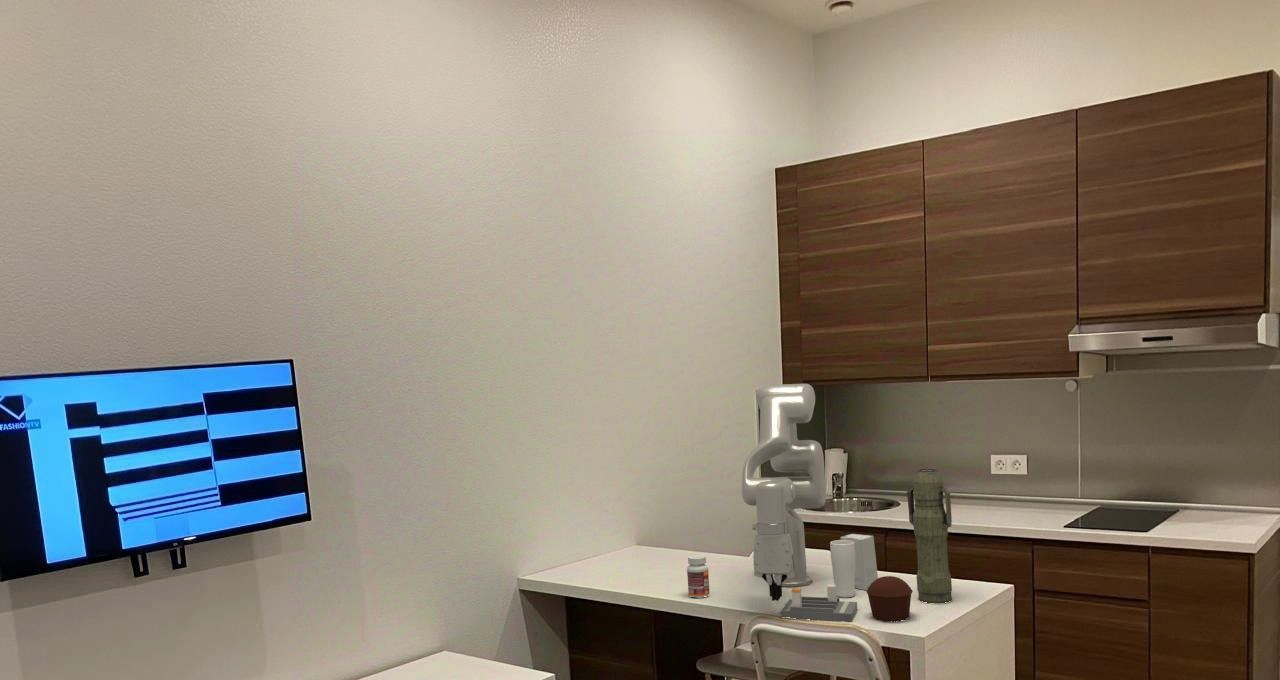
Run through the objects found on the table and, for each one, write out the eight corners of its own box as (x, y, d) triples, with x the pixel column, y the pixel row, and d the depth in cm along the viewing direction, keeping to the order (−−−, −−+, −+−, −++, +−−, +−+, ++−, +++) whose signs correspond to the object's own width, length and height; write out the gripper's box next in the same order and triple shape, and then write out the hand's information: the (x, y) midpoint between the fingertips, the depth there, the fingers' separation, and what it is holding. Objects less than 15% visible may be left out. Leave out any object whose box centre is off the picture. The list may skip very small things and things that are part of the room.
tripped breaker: (794, 607, 239) (793, 587, 239) (802, 607, 238) (801, 587, 239) (792, 609, 237) (791, 590, 237) (800, 609, 236) (799, 590, 236)
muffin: (895, 626, 225) (892, 585, 225) (858, 618, 234) (856, 578, 234) (923, 616, 232) (920, 576, 233) (886, 609, 241) (884, 570, 241)
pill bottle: (709, 598, 262) (707, 558, 262) (687, 599, 262) (685, 559, 263) (709, 593, 268) (707, 554, 268) (688, 593, 268) (686, 555, 269)
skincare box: (879, 587, 264) (876, 535, 265) (865, 591, 261) (862, 538, 261) (856, 582, 271) (853, 532, 272) (842, 586, 267) (839, 535, 268)
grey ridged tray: (789, 606, 248) (788, 582, 248) (857, 609, 242) (855, 584, 242) (780, 618, 237) (779, 592, 237) (851, 621, 230) (850, 595, 231)
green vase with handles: (919, 593, 254) (911, 467, 256) (962, 598, 247) (954, 468, 248) (907, 601, 248) (899, 471, 249) (950, 606, 240) (942, 472, 242)
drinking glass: (840, 591, 261) (836, 539, 262) (861, 594, 257) (858, 540, 258) (828, 597, 256) (825, 543, 257) (850, 600, 252) (847, 545, 252)
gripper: (741, 531, 239) (744, 602, 239) (797, 531, 234) (802, 604, 233) (747, 526, 246) (751, 595, 246) (803, 526, 241) (807, 597, 240)
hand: (776, 599), depth 239 cm, fingers closed
